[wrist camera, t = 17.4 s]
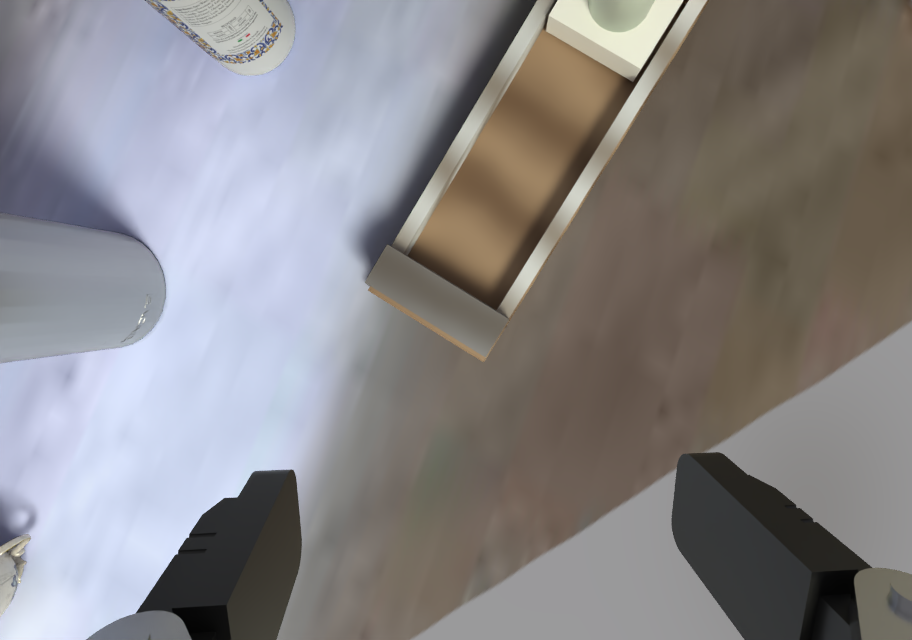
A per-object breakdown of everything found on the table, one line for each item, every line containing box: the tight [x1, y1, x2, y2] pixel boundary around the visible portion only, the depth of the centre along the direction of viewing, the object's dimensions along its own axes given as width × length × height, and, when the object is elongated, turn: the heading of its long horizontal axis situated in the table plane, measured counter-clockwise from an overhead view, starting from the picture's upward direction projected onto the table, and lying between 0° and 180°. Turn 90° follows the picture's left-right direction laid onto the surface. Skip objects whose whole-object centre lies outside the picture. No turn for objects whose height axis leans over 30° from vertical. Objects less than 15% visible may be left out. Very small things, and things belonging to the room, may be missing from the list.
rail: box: [365, 0, 709, 362], centre depth 36 cm, size 32×10×4 cm, turn 148°
